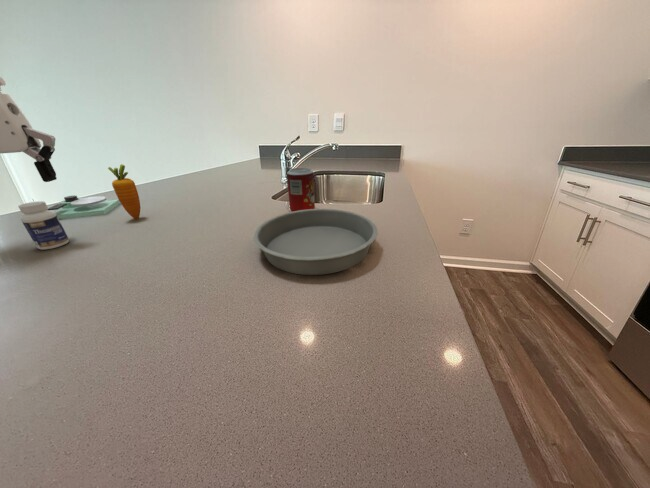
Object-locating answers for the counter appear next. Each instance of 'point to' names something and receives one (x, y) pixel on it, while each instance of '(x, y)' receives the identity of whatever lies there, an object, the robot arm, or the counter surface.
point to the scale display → (57, 206)
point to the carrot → (126, 192)
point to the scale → (85, 209)
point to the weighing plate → (88, 201)
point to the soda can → (301, 189)
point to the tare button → (70, 198)
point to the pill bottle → (43, 225)
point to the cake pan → (316, 240)
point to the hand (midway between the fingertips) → (21, 183)
